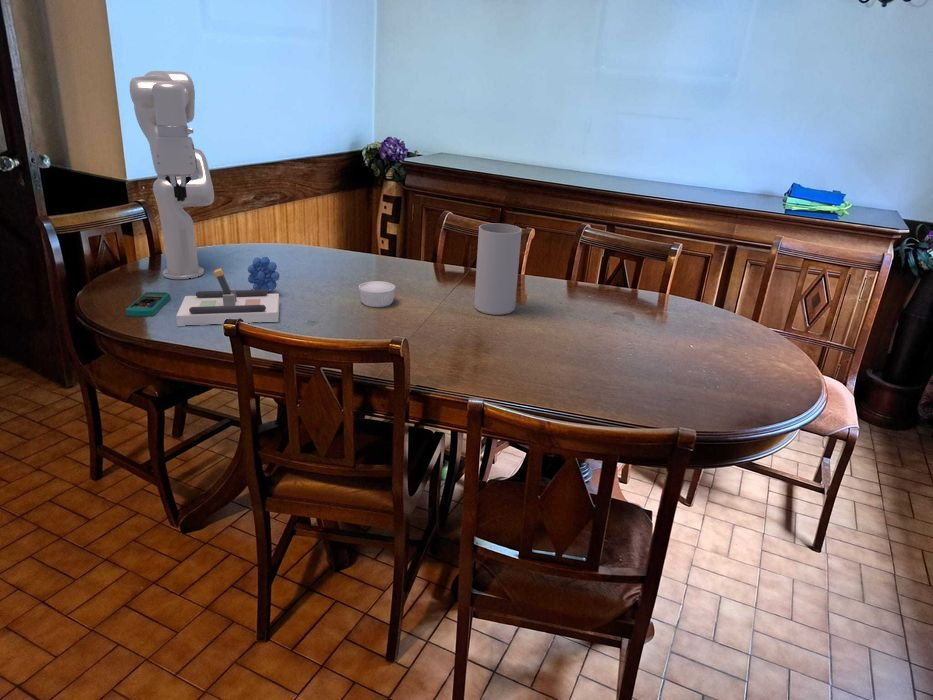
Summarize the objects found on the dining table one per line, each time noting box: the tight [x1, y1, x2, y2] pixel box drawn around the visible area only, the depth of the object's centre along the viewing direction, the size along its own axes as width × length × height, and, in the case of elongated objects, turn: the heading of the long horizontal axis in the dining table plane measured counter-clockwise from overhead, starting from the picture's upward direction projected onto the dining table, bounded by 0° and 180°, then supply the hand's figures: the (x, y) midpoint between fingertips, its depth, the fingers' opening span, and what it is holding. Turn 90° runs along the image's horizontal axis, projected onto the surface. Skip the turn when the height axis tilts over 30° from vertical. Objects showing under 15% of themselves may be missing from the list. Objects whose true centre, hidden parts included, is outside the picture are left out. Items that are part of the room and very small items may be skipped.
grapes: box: [247, 256, 280, 293], centre depth 200 cm, size 12×7×12 cm, turn 68°
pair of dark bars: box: [189, 289, 269, 314], centre depth 183 cm, size 15×20×2 cm
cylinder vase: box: [473, 222, 523, 316], centre depth 195 cm, size 12×12×25 cm
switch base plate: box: [176, 288, 280, 327], centre depth 183 cm, size 16×26×6 cm, turn 104°
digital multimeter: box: [125, 291, 171, 318], centre depth 185 cm, size 7×15×3 cm, turn 4°
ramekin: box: [358, 280, 396, 308], centre depth 199 cm, size 11×11×5 cm
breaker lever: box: [213, 267, 235, 296], centre depth 181 cm, size 3×2×10 cm
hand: (181, 200), depth 183 cm, fingers closed
